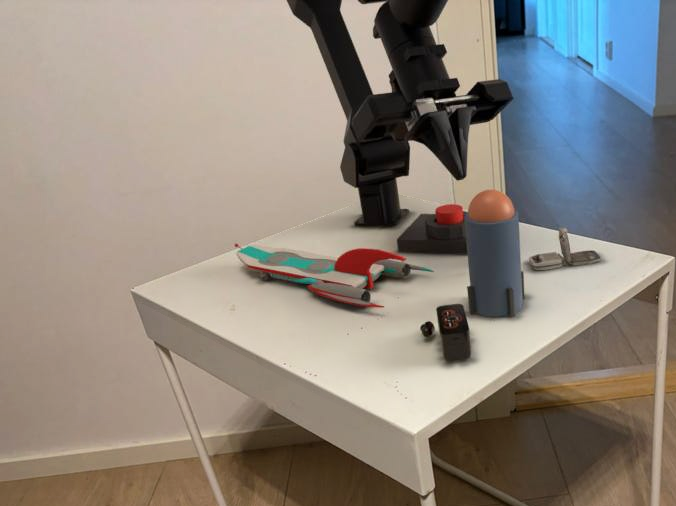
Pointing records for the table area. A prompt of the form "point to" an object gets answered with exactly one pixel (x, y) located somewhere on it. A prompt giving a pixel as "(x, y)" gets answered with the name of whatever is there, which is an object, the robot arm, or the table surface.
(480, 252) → the toy rocket
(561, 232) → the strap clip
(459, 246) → the box
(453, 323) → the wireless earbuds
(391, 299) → the table surface
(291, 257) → the toy spaceship
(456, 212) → the button
